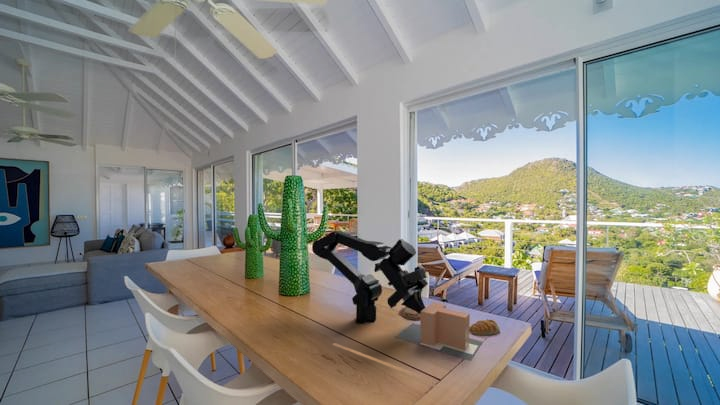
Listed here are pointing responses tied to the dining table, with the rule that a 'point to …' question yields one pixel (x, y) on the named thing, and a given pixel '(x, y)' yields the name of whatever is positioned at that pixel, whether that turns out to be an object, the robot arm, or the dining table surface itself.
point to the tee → (444, 326)
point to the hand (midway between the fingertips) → (426, 315)
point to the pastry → (484, 327)
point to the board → (414, 336)
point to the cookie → (409, 314)
